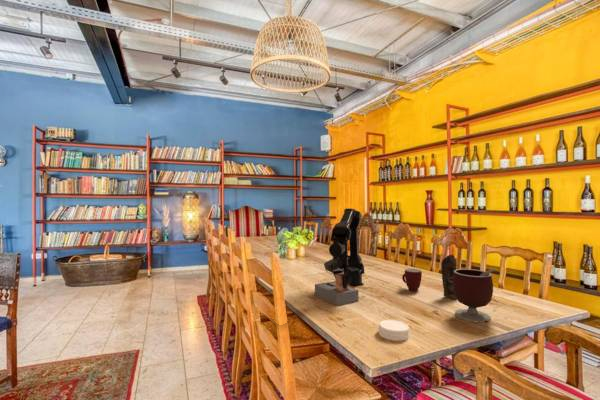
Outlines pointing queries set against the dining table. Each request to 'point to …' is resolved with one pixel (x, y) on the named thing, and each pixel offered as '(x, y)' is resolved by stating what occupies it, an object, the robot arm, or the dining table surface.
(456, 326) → the dining table surface
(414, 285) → the mug
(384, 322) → the coaster
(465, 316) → the mate gourd
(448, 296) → the statue
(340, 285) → the peg
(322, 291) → the socket board
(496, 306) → the dining table surface
